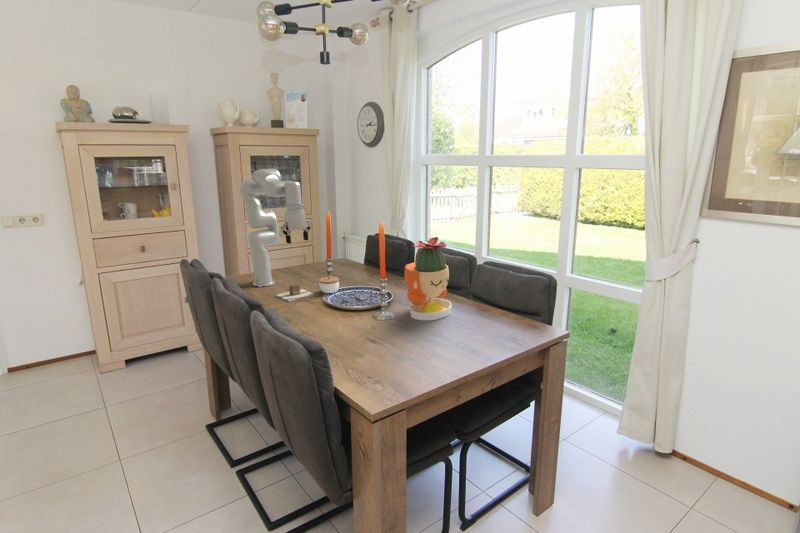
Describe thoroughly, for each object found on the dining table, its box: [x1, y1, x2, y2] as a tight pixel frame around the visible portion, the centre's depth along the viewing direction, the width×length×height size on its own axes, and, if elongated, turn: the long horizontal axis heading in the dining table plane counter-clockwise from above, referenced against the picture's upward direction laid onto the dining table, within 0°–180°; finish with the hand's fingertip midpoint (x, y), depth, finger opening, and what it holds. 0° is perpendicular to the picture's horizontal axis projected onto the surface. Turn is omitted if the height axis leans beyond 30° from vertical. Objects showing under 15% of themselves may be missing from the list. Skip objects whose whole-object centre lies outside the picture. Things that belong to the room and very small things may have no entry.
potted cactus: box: [403, 236, 452, 321], centre depth 209 cm, size 22×22×35 cm
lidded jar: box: [318, 275, 340, 294], centre depth 245 cm, size 11×11×9 cm
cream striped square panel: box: [272, 288, 319, 305], centre depth 243 cm, size 18×18×1 cm
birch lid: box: [275, 283, 316, 303], centre depth 242 cm, size 15×15×6 cm
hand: (297, 241), depth 227 cm, fingers open, 9 cm apart
